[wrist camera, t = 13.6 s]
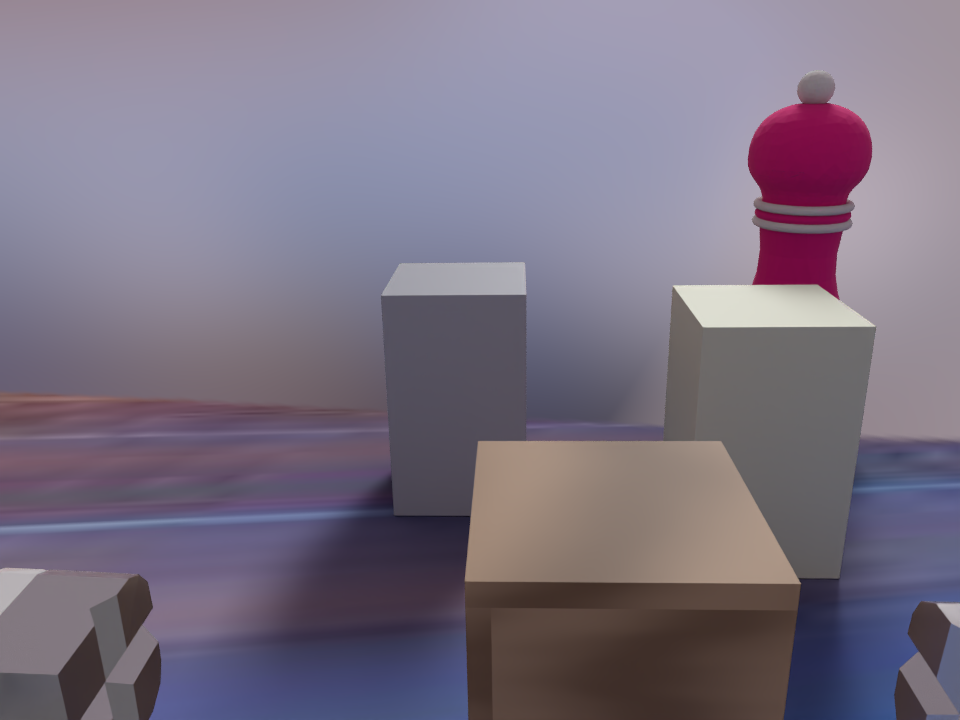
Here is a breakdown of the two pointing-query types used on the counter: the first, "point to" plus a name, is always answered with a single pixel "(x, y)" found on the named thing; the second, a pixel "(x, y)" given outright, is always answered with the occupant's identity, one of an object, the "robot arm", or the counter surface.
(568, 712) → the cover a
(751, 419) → the cover
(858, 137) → the pepper mill
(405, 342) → the cover
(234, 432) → the counter surface
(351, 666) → the counter surface
